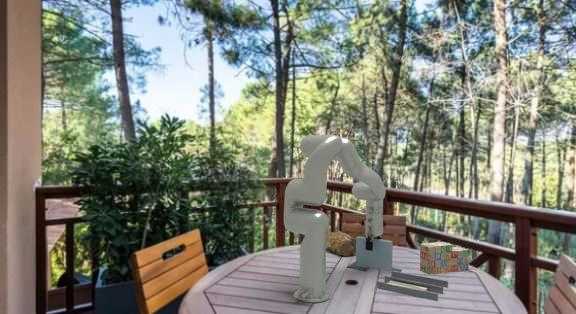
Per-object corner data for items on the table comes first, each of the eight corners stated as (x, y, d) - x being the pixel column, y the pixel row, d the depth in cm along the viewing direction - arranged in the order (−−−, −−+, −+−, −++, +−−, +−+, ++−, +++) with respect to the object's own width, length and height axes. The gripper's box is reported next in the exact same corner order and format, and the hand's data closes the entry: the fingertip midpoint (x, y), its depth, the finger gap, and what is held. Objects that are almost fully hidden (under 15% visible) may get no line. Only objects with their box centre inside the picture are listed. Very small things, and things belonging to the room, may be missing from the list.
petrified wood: (362, 255, 194) (358, 236, 193) (339, 262, 190) (335, 243, 189) (345, 245, 212) (341, 227, 211) (323, 251, 208) (320, 234, 207)
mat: (394, 276, 162) (394, 275, 162) (346, 267, 174) (346, 266, 174) (401, 270, 170) (401, 269, 170) (355, 262, 183) (355, 261, 183)
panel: (389, 272, 166) (390, 242, 166) (355, 265, 175) (356, 237, 175) (392, 270, 169) (392, 240, 169) (358, 264, 178) (358, 236, 178)
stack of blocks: (458, 266, 178) (458, 240, 177) (468, 270, 172) (469, 243, 171) (419, 270, 171) (420, 243, 170) (429, 275, 165) (429, 246, 165)
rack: (437, 303, 133) (437, 294, 133) (377, 290, 146) (377, 282, 146) (448, 289, 147) (448, 281, 147) (392, 278, 160) (392, 271, 160)
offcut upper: (423, 296, 138) (423, 291, 138) (386, 287, 146) (386, 283, 146) (427, 292, 142) (427, 288, 142) (390, 284, 150) (390, 280, 150)
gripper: (374, 212, 163) (374, 253, 162) (389, 209, 177) (388, 246, 177) (358, 211, 167) (357, 250, 167) (373, 207, 181) (372, 243, 181)
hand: (373, 248), depth 172 cm, fingers open, 9 cm apart
